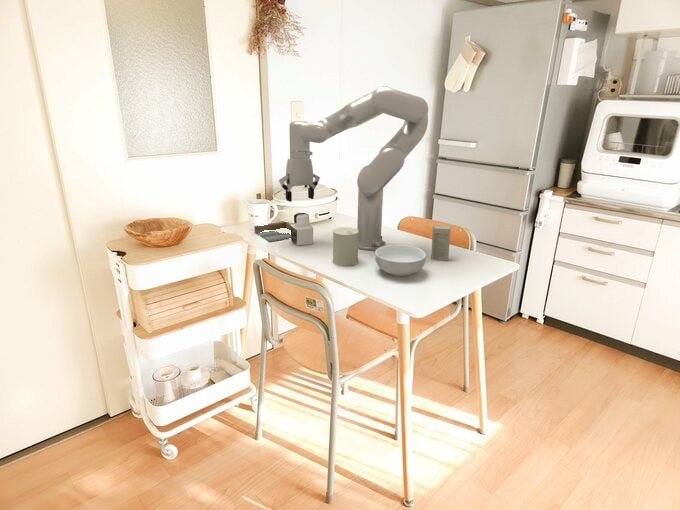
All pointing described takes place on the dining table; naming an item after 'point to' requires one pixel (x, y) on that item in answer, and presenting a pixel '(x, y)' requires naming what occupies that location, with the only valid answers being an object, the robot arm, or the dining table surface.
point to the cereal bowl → (400, 259)
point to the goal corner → (273, 235)
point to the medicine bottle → (301, 230)
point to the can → (345, 246)
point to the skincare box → (440, 242)
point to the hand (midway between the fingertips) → (300, 199)
